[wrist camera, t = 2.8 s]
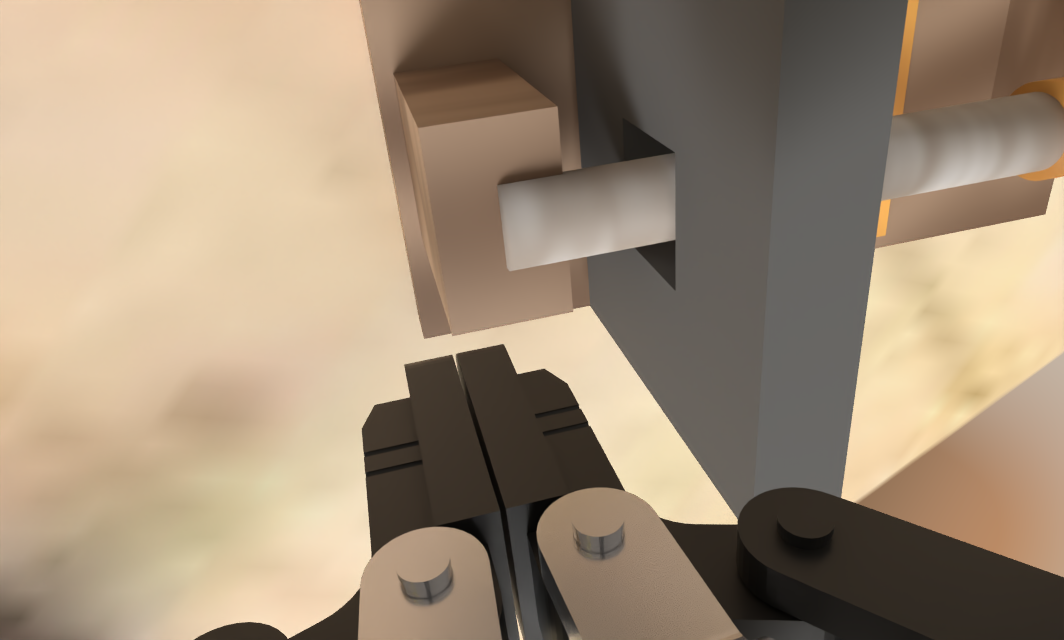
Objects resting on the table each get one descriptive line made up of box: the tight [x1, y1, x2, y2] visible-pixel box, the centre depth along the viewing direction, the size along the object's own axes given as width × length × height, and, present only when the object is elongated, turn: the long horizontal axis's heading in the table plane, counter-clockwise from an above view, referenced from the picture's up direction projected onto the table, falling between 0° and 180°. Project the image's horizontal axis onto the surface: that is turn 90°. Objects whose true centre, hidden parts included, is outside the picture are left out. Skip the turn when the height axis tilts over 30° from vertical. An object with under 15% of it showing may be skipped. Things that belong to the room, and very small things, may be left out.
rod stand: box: [359, 0, 1064, 339], centre depth 22 cm, size 12×24×9 cm, turn 95°
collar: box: [571, 0, 908, 519], centre depth 18 cm, size 11×2×11 cm, turn 5°
